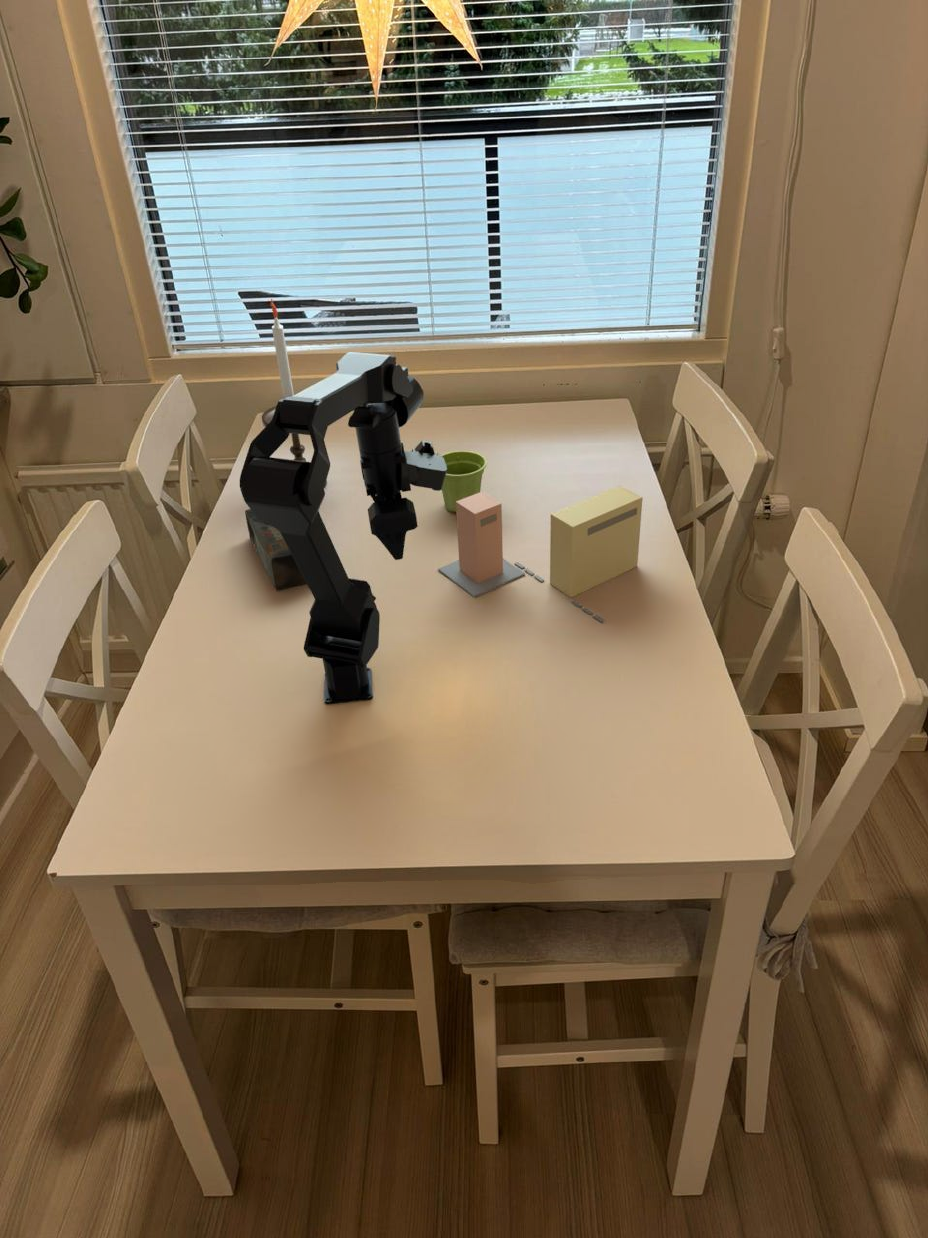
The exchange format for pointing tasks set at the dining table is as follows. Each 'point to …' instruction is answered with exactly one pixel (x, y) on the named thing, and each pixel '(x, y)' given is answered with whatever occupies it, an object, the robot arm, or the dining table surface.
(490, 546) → the stub
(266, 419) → the candlestick
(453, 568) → the coaster
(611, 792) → the dining table surface
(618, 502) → the block
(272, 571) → the beverage carton
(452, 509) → the plant pot
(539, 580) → the perforation marks
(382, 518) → the robot arm
